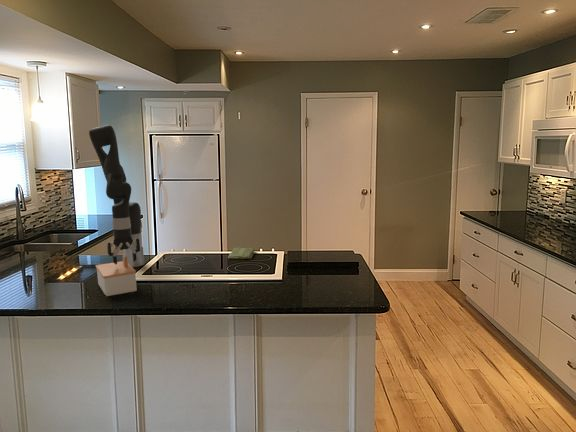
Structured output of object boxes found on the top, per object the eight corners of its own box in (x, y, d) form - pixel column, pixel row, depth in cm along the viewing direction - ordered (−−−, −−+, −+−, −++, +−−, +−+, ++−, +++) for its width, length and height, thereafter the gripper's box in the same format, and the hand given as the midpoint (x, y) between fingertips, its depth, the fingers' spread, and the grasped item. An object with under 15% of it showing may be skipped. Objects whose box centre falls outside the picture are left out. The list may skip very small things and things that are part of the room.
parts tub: (127, 279, 234) (125, 262, 232) (136, 290, 217) (135, 273, 215) (98, 284, 228) (96, 267, 226) (105, 296, 210) (104, 278, 209)
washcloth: (226, 260, 264) (226, 254, 263) (233, 252, 281) (233, 246, 280) (250, 260, 262) (250, 254, 262) (256, 252, 280) (256, 246, 279)
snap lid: (126, 264, 233) (125, 250, 232) (136, 275, 215) (135, 260, 214) (96, 269, 226) (94, 254, 225) (103, 280, 209) (102, 265, 207)
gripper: (136, 223, 226) (139, 258, 229) (103, 227, 219) (107, 263, 222) (140, 226, 220) (143, 262, 223) (106, 230, 213) (110, 267, 216)
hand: (125, 262), depth 222 cm, fingers open, 7 cm apart
